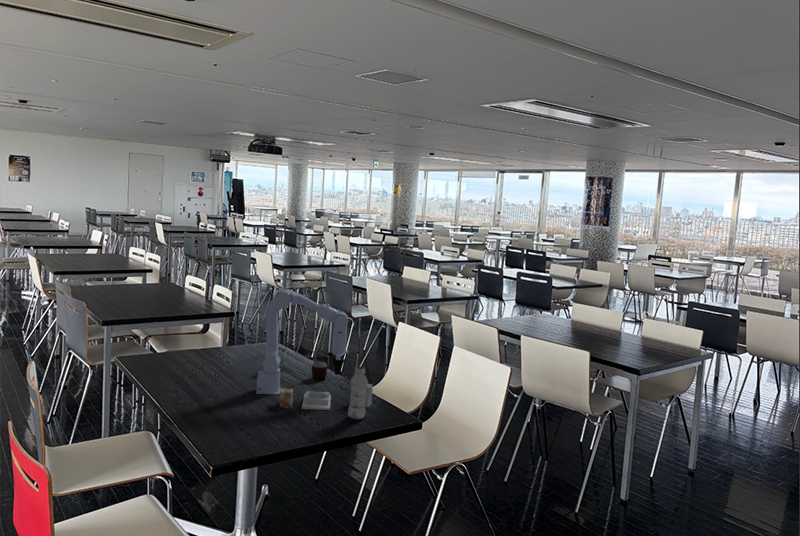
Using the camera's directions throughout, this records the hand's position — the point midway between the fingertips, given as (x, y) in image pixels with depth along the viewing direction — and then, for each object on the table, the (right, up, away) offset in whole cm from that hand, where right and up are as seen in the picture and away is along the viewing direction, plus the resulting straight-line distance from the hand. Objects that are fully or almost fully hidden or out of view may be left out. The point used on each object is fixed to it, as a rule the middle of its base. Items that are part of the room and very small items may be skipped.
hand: (337, 371), depth 253 cm
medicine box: (+10, -12, -8) cm, 18 cm away
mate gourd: (-11, -7, +19) cm, 23 cm away
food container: (-31, -5, +27) cm, 41 cm away
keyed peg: (-19, -11, -15) cm, 27 cm away
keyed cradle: (-7, -11, -10) cm, 17 cm away
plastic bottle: (+10, -14, -23) cm, 29 cm away
